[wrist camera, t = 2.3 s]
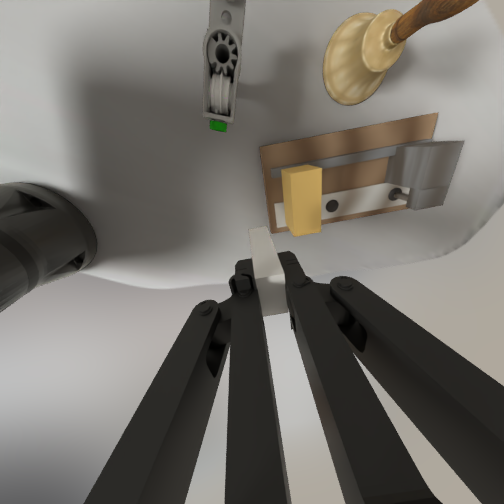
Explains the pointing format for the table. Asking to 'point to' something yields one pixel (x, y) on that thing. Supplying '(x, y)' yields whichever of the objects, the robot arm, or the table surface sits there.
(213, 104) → the mechanical component
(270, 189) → the board
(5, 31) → the table surface
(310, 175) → the block
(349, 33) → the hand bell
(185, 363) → the robot arm
